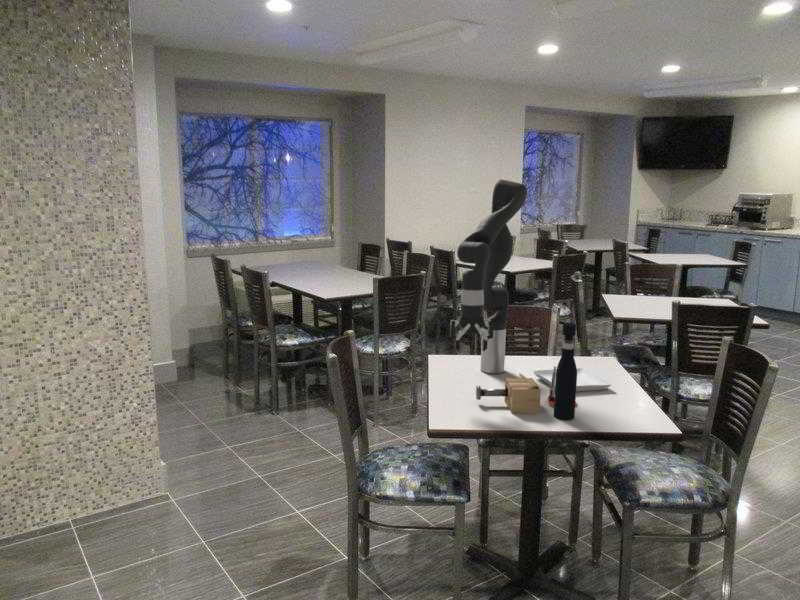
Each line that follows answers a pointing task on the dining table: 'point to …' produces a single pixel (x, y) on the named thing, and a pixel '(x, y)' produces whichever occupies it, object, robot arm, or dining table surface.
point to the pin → (490, 392)
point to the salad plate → (578, 380)
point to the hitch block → (522, 396)
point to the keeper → (527, 379)
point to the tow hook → (552, 390)
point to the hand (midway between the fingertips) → (470, 350)
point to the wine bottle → (566, 377)
